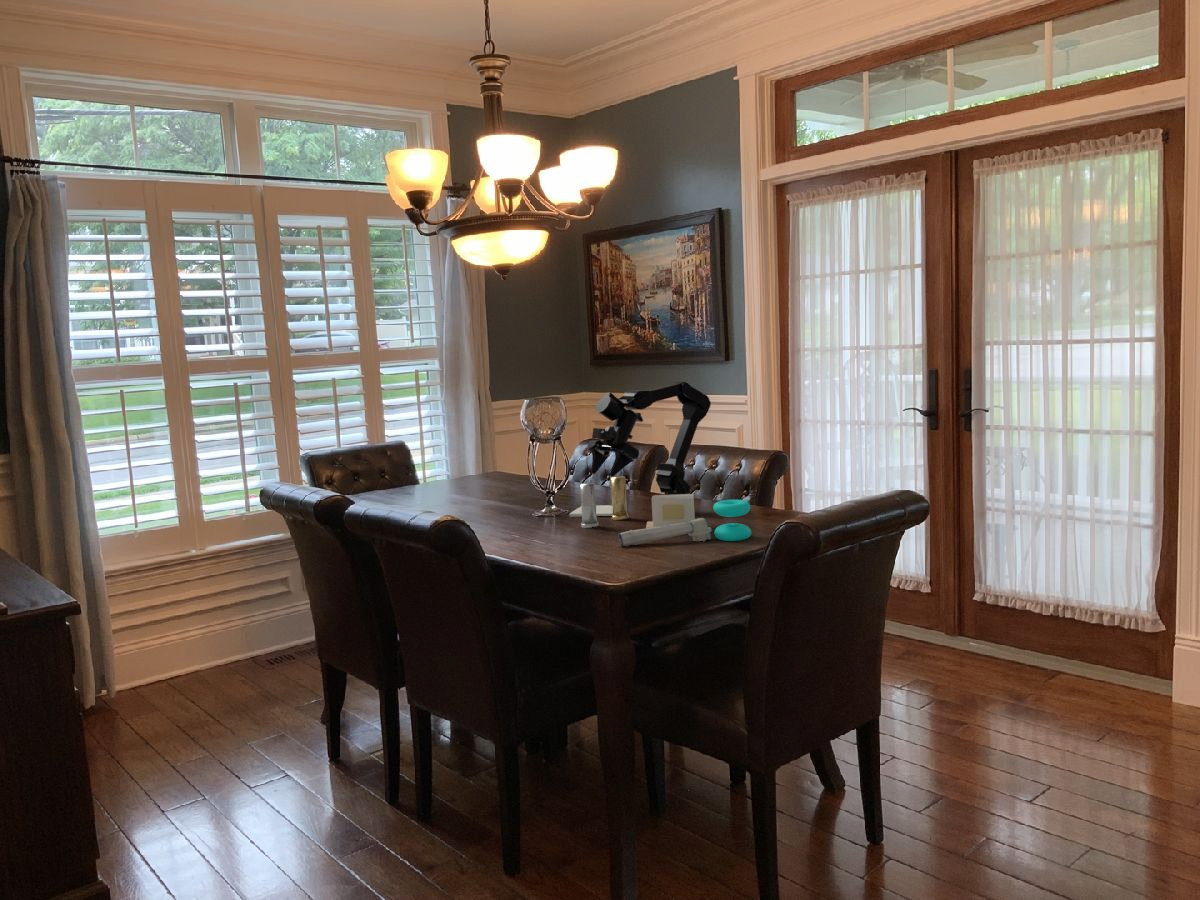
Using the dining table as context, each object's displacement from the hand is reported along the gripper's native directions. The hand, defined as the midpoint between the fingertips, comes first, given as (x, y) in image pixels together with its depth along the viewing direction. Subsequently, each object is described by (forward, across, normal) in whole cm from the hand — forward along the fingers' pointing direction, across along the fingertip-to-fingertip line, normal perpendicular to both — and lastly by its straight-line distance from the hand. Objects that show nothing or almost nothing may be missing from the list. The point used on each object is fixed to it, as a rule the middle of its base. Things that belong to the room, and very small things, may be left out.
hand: (601, 474), depth 283 cm
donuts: (+6, +40, +20) cm, 45 cm away
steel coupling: (+14, -4, +6) cm, 16 cm away
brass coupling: (+7, -6, +18) cm, 20 cm away
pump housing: (+6, +18, +19) cm, 27 cm away
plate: (+6, -20, +19) cm, 29 cm away
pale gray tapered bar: (+15, +30, +7) cm, 35 cm away
